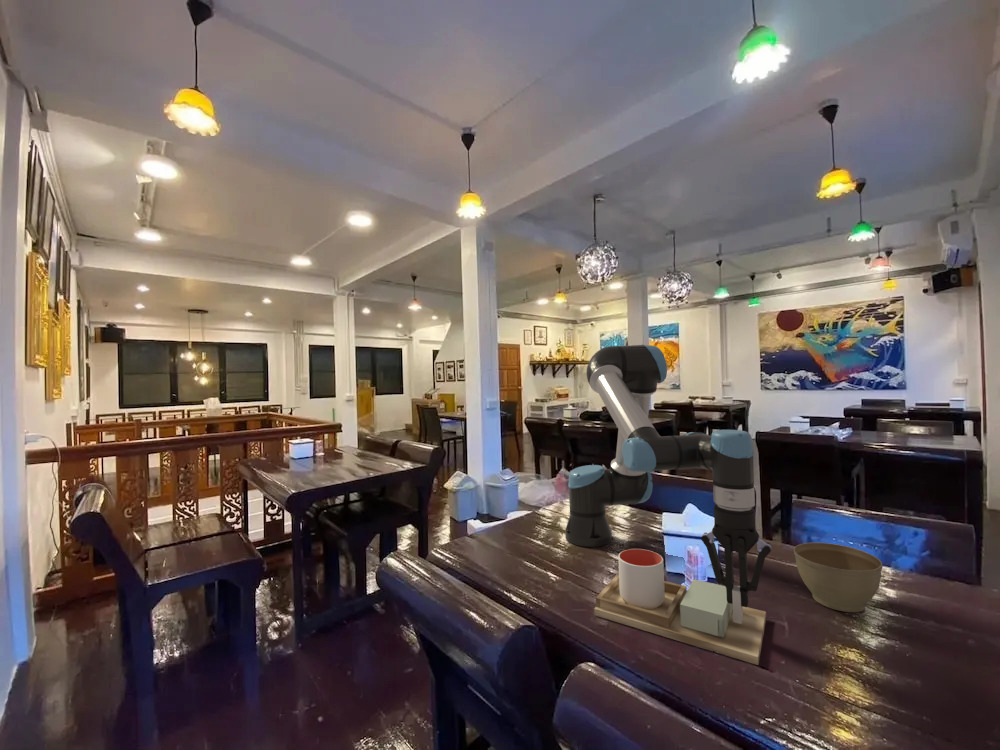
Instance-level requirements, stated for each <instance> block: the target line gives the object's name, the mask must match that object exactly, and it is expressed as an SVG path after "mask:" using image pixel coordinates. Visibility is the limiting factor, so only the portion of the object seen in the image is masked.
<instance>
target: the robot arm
mask: <svg viewBox="0 0 1000 750" xmlns="http://www.w3.org/2000/svg"><path fill="white" fill-rule="evenodd" d="M585 373H586V378H587V382H588V384H589V387H590V388H591V390H592V391H594V392H595V393H597V394H599V396H600V399H601V400H602V402H603V404H604V406H605V408H606V409H607V411H608V413H609V415H610V417H611V419H612V420H613V421H614V424H615V425H616V427H617V428H618V429H617V430H618V431H617V442H616V453H615V458H613V459H612V460H611V462H610V467H609V468H608V469H605V468H604V466H602V465H599V464H594V465H593V464H589V465H582V466H578V467H575V468H574V469H571V470H570V471H569V473H568V486H567V487H568V494H569V495H568V496H569V497H568V499H569V516H568V520H567V523H566V527H565V531H564V533H565V540H566V541H567V542H568V543H570V544H573V545H575V546H580V547H586V548H587V547H588V548H590V547H594V548H595V547H602V546H606V545H608V544H610V543H612V541H613V533H612V529H611V526H610V523H609V521H608V520H609V519H608V517H607V516H606V514H607V513H606V507H608V506H609V507H610V506H622V505H637V504H642V503H646V502H647V501H648V500H649V499H650V498H651V495H652V492H653V486H654V485H653V483H654V482H652V481H653V476H652V474H651V473H652V472H656V471H657V472H658V471H671V470H690V469H704V470H708V471H711V472H712V487H713V488H712V491H713V494H712V495H713V502H714V503H715V505H713V515H714V516H713V517H714V518H713V519H714V523H713V524H714V526H713V527H712V529H711V530H710V531H709V532H704V533H703V534H702V535H701V537H700V539H701V541H702V543H703V544H704V546H705V547H706V551H707V554H708V558H709V561H710V564H711V566H712V567H711V568H712V571H713V574H714V577H715V578H714V579H715V580H716V584H718V585H722V586H725V587H726V593H727V602H728V603H730V604H733V622H735V623H739V624H742V620H743V607H748V605H749V592H750V591H752V592H757V590H758V587H759V586H758V585H759V583H760V578H761V575H762V571H763V567H764V564H765V559H766V558H767V556H768V555H770V553H771V551H772V544H771V542H765V541H764V540H763V539H761V538H760V535H759V533H758V531H757V526H756V510H755V509H754V507H755V505H756V497H755V483H754V482H755V477H754V476H755V475H754V474H755V473H754V470H755V469H754V466H755V465H754V454H755V451H754V448H753V440H752V439H753V438H752V436H751V434H750V433H749V432H748V431H745V430H741V429H740V430H739V429H738V430H737V429H717V430H713V431H712V433H711V434H707V433H704V432H701V431H699V432H693V431H691V432H686V433H684V434H683V435H666V436H665V435H663V436H661V435H660V434H659V432H658V431H657V430H656V428H655V426H654V425H653V423H652V422H651V420H650V419H649V412H650V403H651V397H652V395H654V394H655V393H656V392H657V388H658V384H661V383H663V382H665V380H666V378H667V375H668V365H667V360H666V357H665V355H664V353H663V351H662V349H660V348H659V347H658V346H655V345H649V344H648V345H647V344H637V345H635V344H633V345H617V346H616V345H610V346H609V345H608V346H606V347H602V348H600V349H599V350H598V351H596V352H595V353H594V354H593V355H592V356H591V358H590V359H589V360H588V364H587V367H586V372H585ZM716 540H717V542H718V543H719V544H720V546H721V547H722V548H723V552H724V567H725V568H724V571H725V572H724V571H723V568H722V563H721V560H720V556H719V554H718V550H717V547H716V544H715V541H716ZM755 545H756V546H757V547H756V549H757V551H758V553H757V558H756V562H755V567H754V569H753V575H752V577H751V581H749V578H748V577H749V576H748V575H749V572H748V552H749V551H750V550H752V548H753V547H754V546H755ZM734 552H735V553H738V557H737V558H738V566H739V567H738V572H739V573H738V574H739V585H736V584H734V583H735V576H734V575H735V574H734V571H735V570H734ZM724 573H725V575H724Z"/></svg>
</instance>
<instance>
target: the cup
mask: <svg viewBox="0 0 1000 750" xmlns="http://www.w3.org/2000/svg"><path fill="white" fill-rule="evenodd" d="M617 559H618V560H617V561H618V573H619V589H620V596H621V598H622V599H623V600H624V602H626V603H627V604H629V605H632V606H635V607H639V608H643V609H653V608H657V607H659V606H660V605H662V603H663V602H664V599H665V590H664V581H665V566H664V558H663V556H662V555H661V554H660V553H657V552H656V551H655V552H654V551H652V550H648V549H643V548H629V549H625V550H622V551H621V552H619V554H618V555H617Z"/></svg>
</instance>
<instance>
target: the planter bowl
mask: <svg viewBox="0 0 1000 750" xmlns="http://www.w3.org/2000/svg"><path fill="white" fill-rule="evenodd" d="M793 554H794V557H795V564H796V568H797V570H798V571H797V572H798V573H799V575H800V578H801V580H802V582H803V583H804V585H806V587H807V589H808V590H809V591H810V592H811V594H812V598H813V600H814V601H816V602H817V603H818V604H819V605H822V606H825V607H826V608H829V609H831V610H835V611H841V612H845V613H858V612H863V611H864V610H865V608H866V606H867V604H868V603H869V602H870V601H871V600H872V599H873V598H874V597H875V595H876V593H877V591H878V589H879V588H880V585H881V579H882V570H883V562H882V560H881V559H880V558H878V556H875V555H873V554H871V553H869V552H867V551H864V550H861V549H859V548H855V547H851V546H846V545H844V544H843V545H841V544H837V543H836V544H835V543H829V542H804V543H800V544H797V545H795V546H794V547H793Z"/></svg>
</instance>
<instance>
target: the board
mask: <svg viewBox="0 0 1000 750" xmlns="http://www.w3.org/2000/svg"><path fill="white" fill-rule="evenodd" d="M664 590H665V599H664V602H663V603H662V605H660V606H659V607H657V608H653V609H643V608H639V607H635V606H632V605H629V604H627V603H626V602H624V600H623V599H622V598H621V596H620V589H619V572H618V573H617V574H616V575H615V576H614V577H613V579H611V580H610V582H609V583H608V584H606V586H605V587H604V588H603V589H602V590H601V591H600V593H599V594H598V595H596V597H595V607H594V608H593V610H594V612H593V613H594V616H595V617H599V618H602V619H606V620H608V621H612V622H615V623H619V624H622V625H626V626H628V627H631V628H635V629H638V630H641V631H645V632H648V633H651V634H655V635H657V636H662V637H664V638H667V639H671V640H675V641H678V642H680V643H684V644H687V645H691V646H694V647H697V648H701V649H703V650H707V651H710V652H713V651H715V652H714V653H716V652H718V653H717V654H721V655H723V654H724V655H723V656H726V657H730V658H733V659H737V660H740V661H743V662H746V663H750V664H752V665H757V666H759V664H760V656H761V651H762V645H763V638H764V633H765V627H766V622H767V612H766V611H765V610H760V609H755V608H751V607H748V606H747V607H743V620H742V624H739V623H735V622H733V610H732V613H731V616H730V620H729V623H728V626H727V629H726V633H725V636H724V638H722V637H719V636H715V635H712V634H708V633H705V632H701V631H698V630H694V629H691V628H687V627H684V626H681V615H680V604H681V602H682V600H683V598H684V596H685V594H686V592H687V591H688V590H687V585H683V584H678V583H675V582H671V581H665V580H664Z"/></svg>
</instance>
